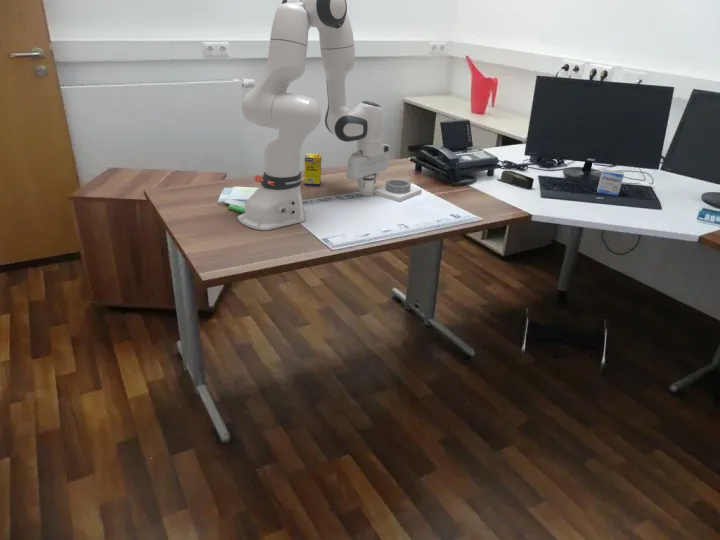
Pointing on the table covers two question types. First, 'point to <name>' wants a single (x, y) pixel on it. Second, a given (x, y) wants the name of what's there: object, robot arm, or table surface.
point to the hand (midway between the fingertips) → (367, 185)
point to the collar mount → (397, 190)
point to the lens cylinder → (368, 185)
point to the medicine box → (610, 182)
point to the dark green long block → (516, 179)
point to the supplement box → (313, 169)
